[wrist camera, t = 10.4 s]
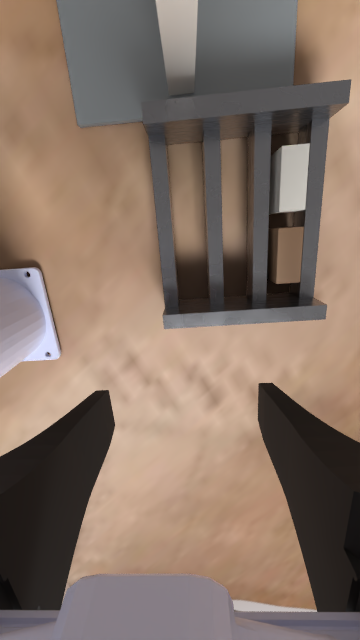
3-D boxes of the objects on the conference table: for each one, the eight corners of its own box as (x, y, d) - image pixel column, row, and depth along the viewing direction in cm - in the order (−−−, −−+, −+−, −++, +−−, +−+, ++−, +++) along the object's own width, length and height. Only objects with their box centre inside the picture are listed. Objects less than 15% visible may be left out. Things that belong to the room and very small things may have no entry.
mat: (80, 127, 18) (77, 125, 17) (45, -83, 15) (40, -93, 14) (289, 106, 17) (292, 102, 17) (300, -121, 14) (304, -133, 13)
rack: (168, 312, 22) (164, 329, 18) (151, 129, 18) (140, 102, 14) (301, 303, 21) (325, 319, 18) (315, 112, 17) (351, 79, 13)
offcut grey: (266, 214, 19) (279, 211, 17) (267, 159, 18) (282, 145, 15) (287, 212, 19) (305, 209, 16) (290, 156, 18) (309, 143, 15)
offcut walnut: (264, 276, 21) (276, 283, 18) (265, 228, 20) (278, 228, 17) (284, 275, 21) (300, 282, 18) (287, 227, 20) (303, 226, 17)
